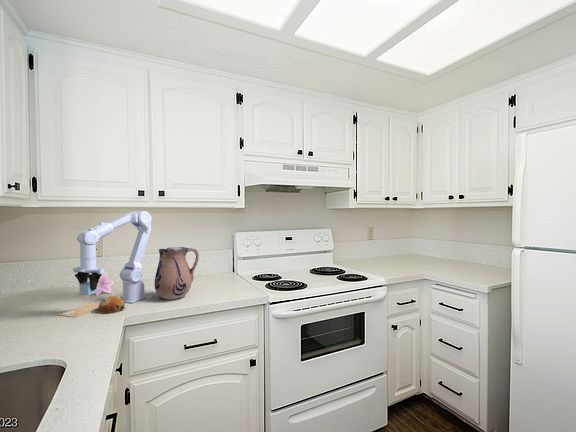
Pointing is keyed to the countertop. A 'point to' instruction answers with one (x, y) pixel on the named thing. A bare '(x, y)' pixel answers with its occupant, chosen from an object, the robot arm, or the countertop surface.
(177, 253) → the ceramic pitcher
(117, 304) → the bread roll
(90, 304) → the envelope
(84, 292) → the blue cube
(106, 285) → the lily
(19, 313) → the countertop surface
